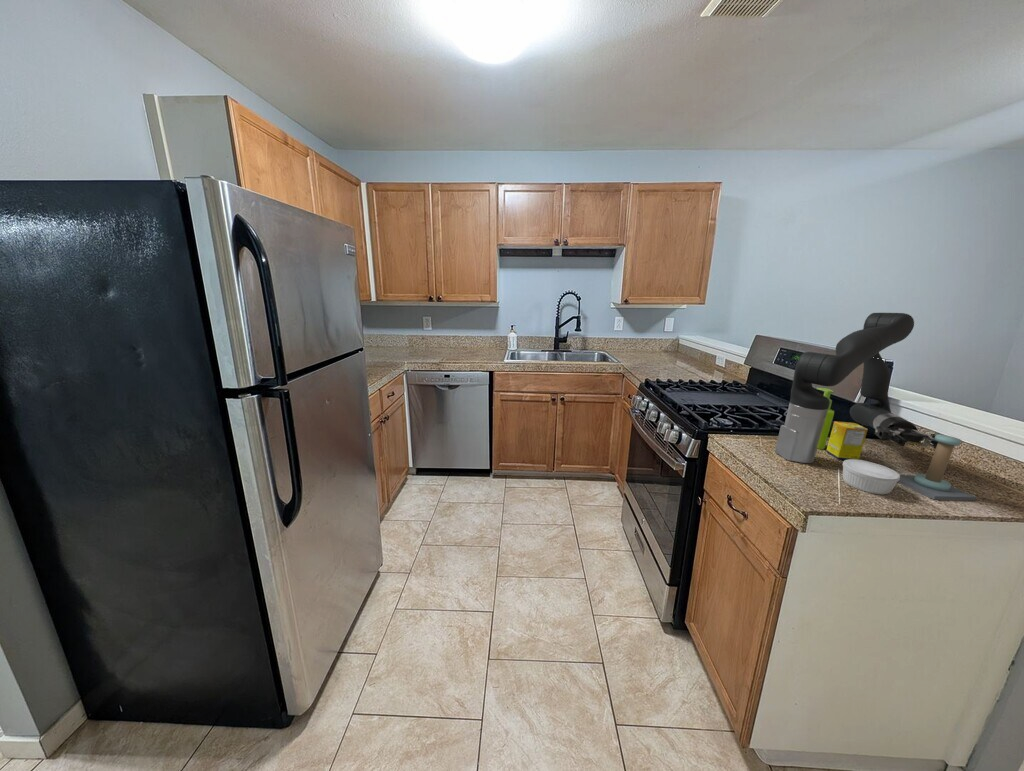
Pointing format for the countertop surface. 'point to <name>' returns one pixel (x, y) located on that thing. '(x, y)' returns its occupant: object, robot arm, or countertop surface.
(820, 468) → the countertop surface
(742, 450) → the countertop surface
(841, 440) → the supplement box
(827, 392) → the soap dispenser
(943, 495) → the mat
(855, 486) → the ramekin
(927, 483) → the teal-flanged spool
